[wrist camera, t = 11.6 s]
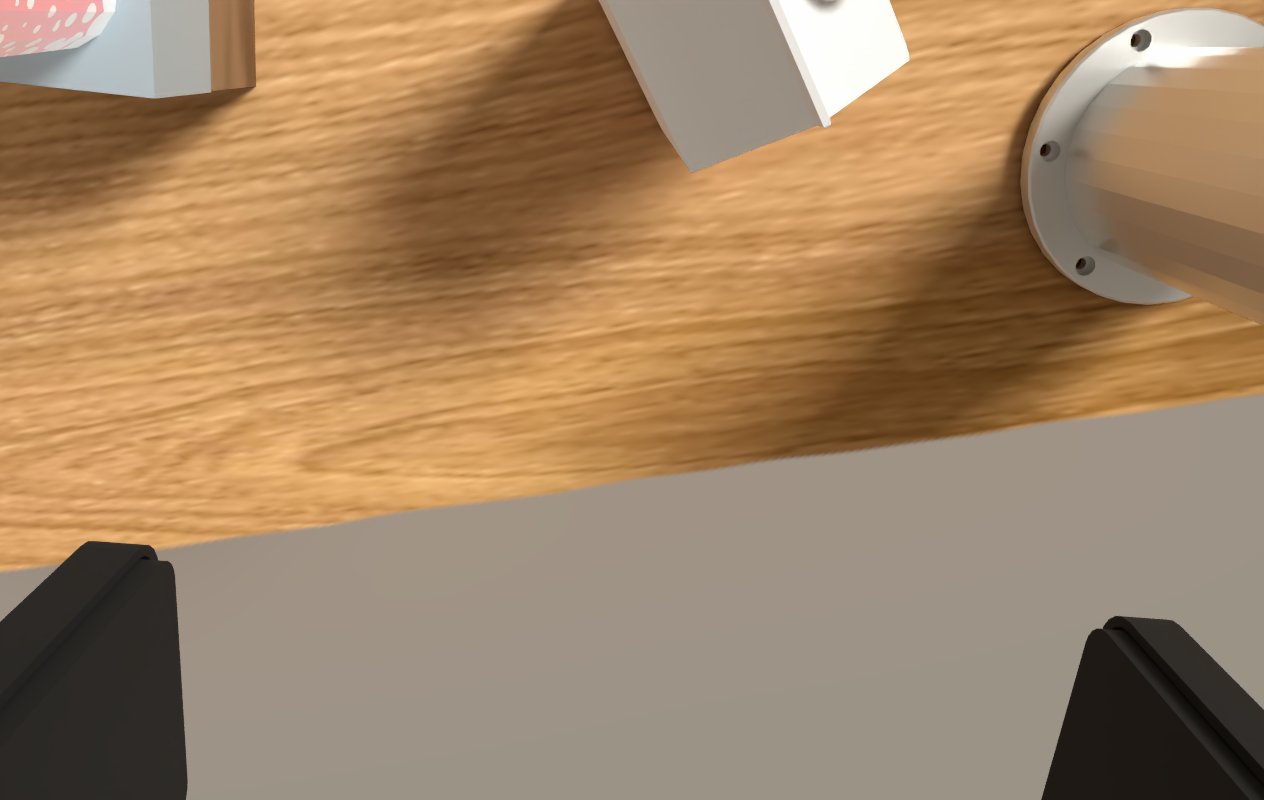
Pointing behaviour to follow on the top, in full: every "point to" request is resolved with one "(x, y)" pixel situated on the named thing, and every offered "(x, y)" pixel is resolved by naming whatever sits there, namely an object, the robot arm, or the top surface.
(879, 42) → the milk carton
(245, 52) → the bottom block
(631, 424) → the top surface
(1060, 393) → the top surface
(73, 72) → the top block
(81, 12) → the beverage cup
